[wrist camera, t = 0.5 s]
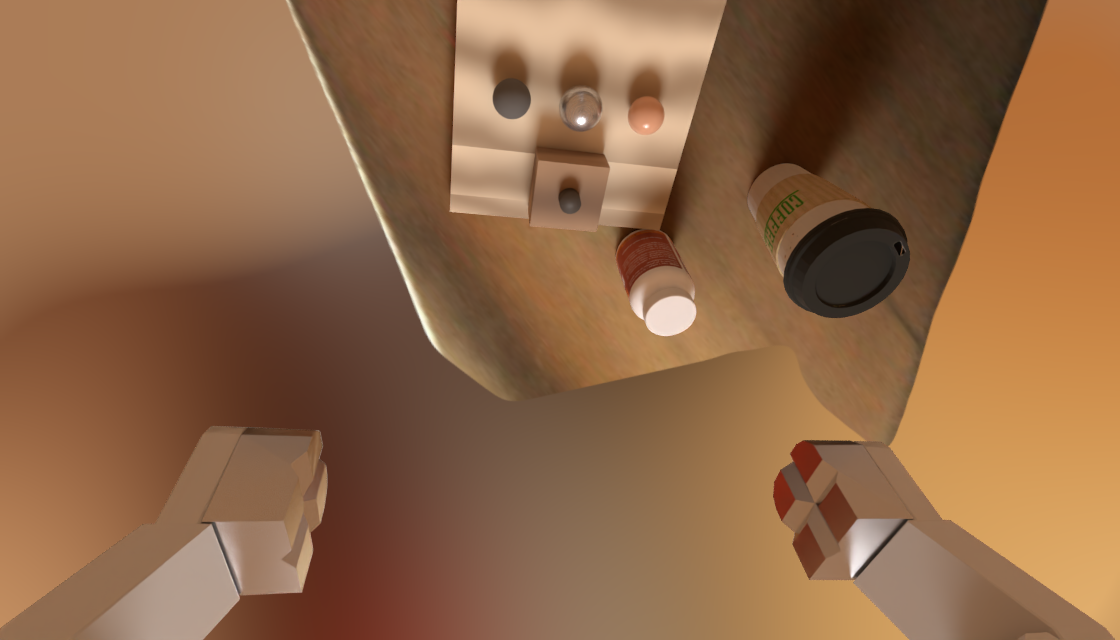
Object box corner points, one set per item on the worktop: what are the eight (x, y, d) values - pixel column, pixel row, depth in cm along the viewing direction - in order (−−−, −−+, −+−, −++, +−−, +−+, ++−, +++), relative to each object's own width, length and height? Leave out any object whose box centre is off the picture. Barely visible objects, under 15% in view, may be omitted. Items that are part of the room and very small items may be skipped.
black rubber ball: (493, 71, 44) (494, 81, 41) (531, 76, 44) (534, 87, 42) (491, 110, 45) (491, 122, 43) (527, 114, 46) (529, 126, 44)
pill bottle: (602, 258, 58) (622, 324, 50) (642, 215, 56) (670, 276, 47) (644, 285, 61) (670, 352, 52) (684, 245, 58) (718, 309, 50)
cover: (536, 146, 47) (539, 166, 44) (604, 154, 48) (612, 173, 45) (527, 210, 51) (530, 232, 48) (591, 216, 52) (598, 238, 49)
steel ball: (560, 76, 44) (564, 89, 42) (602, 82, 45) (610, 95, 42) (554, 120, 46) (557, 135, 44) (594, 125, 47) (601, 140, 44)
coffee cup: (711, 190, 55) (772, 274, 43) (802, 123, 51) (895, 194, 40) (756, 252, 60) (822, 343, 48) (842, 195, 57) (934, 277, 45)
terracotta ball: (628, 89, 45) (636, 100, 43) (663, 93, 46) (673, 105, 44) (621, 125, 47) (627, 138, 45) (654, 129, 48) (663, 142, 45)
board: (460, -52, 41) (458, -49, 39) (716, -9, 44) (727, -4, 42) (451, 199, 53) (449, 211, 51) (653, 218, 56) (659, 230, 54)
